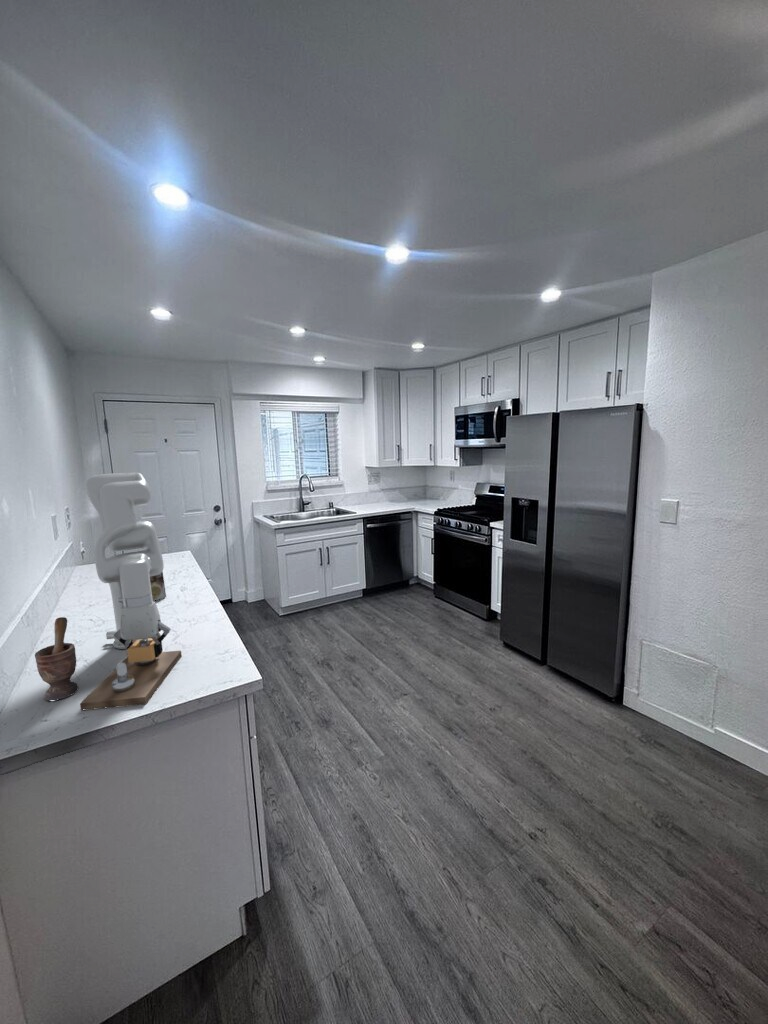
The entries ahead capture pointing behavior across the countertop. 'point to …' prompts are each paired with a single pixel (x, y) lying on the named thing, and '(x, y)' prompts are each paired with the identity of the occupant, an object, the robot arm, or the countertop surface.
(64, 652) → the mortar and pestle
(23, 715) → the countertop surface
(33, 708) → the countertop surface
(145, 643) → the shiny metal knob
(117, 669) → the silver round flared piece
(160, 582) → the coffee box
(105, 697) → the board
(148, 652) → the collar
